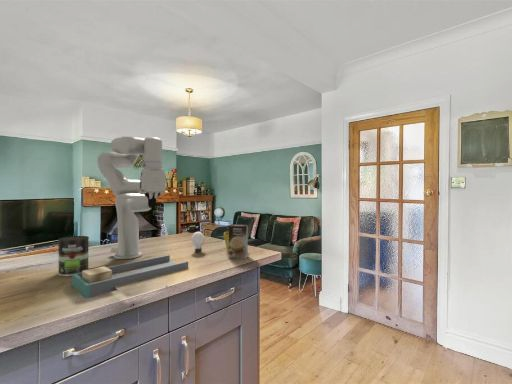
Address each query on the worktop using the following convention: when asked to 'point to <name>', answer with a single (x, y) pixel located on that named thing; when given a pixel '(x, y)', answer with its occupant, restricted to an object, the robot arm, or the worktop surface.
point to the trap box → (127, 275)
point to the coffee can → (73, 255)
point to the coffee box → (238, 241)
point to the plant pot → (226, 239)
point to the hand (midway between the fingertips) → (152, 207)
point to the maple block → (96, 274)
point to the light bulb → (198, 241)
